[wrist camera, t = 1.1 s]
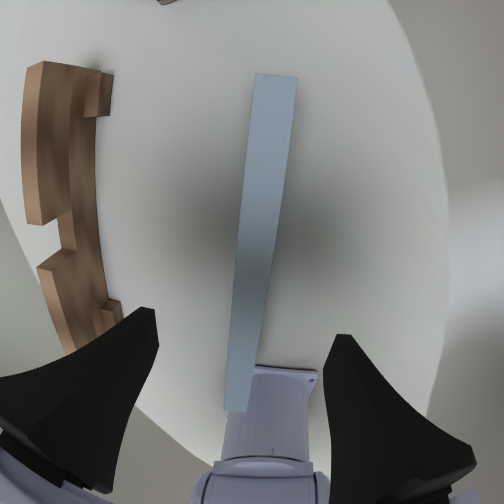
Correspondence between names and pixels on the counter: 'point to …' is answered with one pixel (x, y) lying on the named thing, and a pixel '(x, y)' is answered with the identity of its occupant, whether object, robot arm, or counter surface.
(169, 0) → the coffee box
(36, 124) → the walnut slotted plate
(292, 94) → the grey notched plate
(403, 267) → the counter surface
